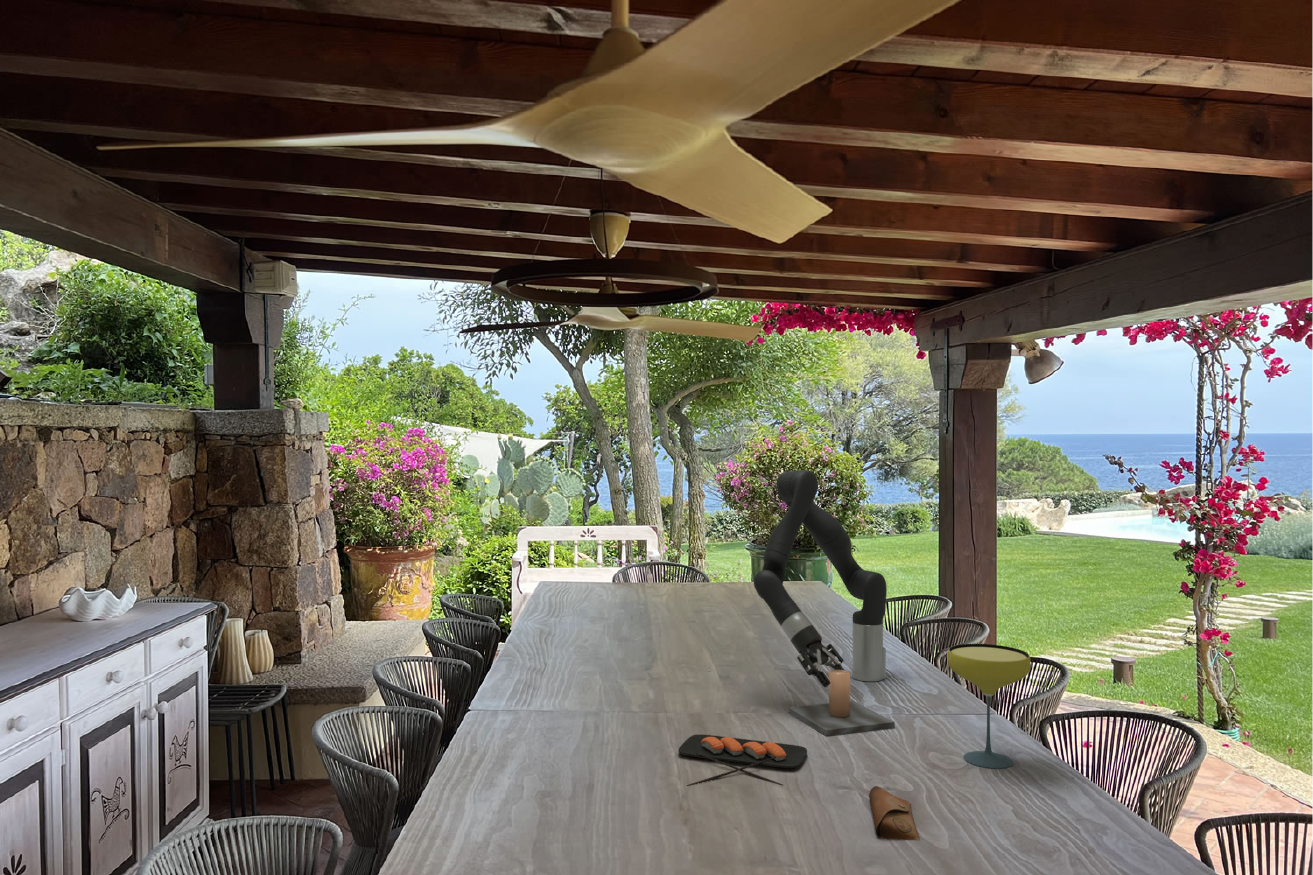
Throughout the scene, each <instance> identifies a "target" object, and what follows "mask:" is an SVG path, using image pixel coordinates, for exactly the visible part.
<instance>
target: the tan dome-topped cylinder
mask: <svg viewBox="0 0 1313 875" xmlns="http://www.w3.org/2000/svg"><path fill="white" fill-rule="evenodd" d="M828 679H829V681H830V684H829V685H828V703H829V714H830V715H831V716H835V717H848V716H850V701H851V672H850V671H848V670H845V669H844V670H834V669H830V670H829V671H828Z"/></svg>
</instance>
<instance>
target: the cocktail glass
mask: <svg viewBox="0 0 1313 875" xmlns="http://www.w3.org/2000/svg"><path fill="white" fill-rule="evenodd" d="M946 656H947V664H948V667H949V668H950V669H951V670H952V671H953V672H954V673H955V674H956V675H957V676H959V677H960V678H963V679H964V680H965V681H968V682H970V683H972V684H973V685H975V686H976V687H978V689H980V691H981V693H982V694H983V695H984V696H986V741H985V742H986V743H985V744H986V745H985V750H975V751H969V752H966V753H964V755H963V759H964V760H965V762H967V763H969V764H970V765H973V766H976V767H980V768H985V769H996V770H997V769H999V770H1000V769H1001V770H1002V769H1007V768H1010V767H1012V766H1013V765H1014V760H1013V759H1012V758H1011V757H1009V756H1007V755H1005V754H1002V753H999V752H994V751H992V747H991V746H992V744H991V715H990V714H991V709H990V708H991V697H992V696H994V695H995V694H996V693H997V691H998V690H999V689H1002V688H1003V687H1006V686H1009V685H1011V684H1014V683H1017V682H1018V681H1021V680H1023V679H1024V678H1025V677H1026V676H1028V675H1029V674H1030V671H1031V666H1032V665H1031V663H1032V662H1031V655H1030V654H1029V653H1028V652H1026V651H1024V650H1022V649H1018V648H1016V647H1011V646H1006V645H1001V644H992V643H990V644H989V643H962V644H955V645H952V646H950V647H949V648H948V650H947V655H946Z"/></svg>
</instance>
